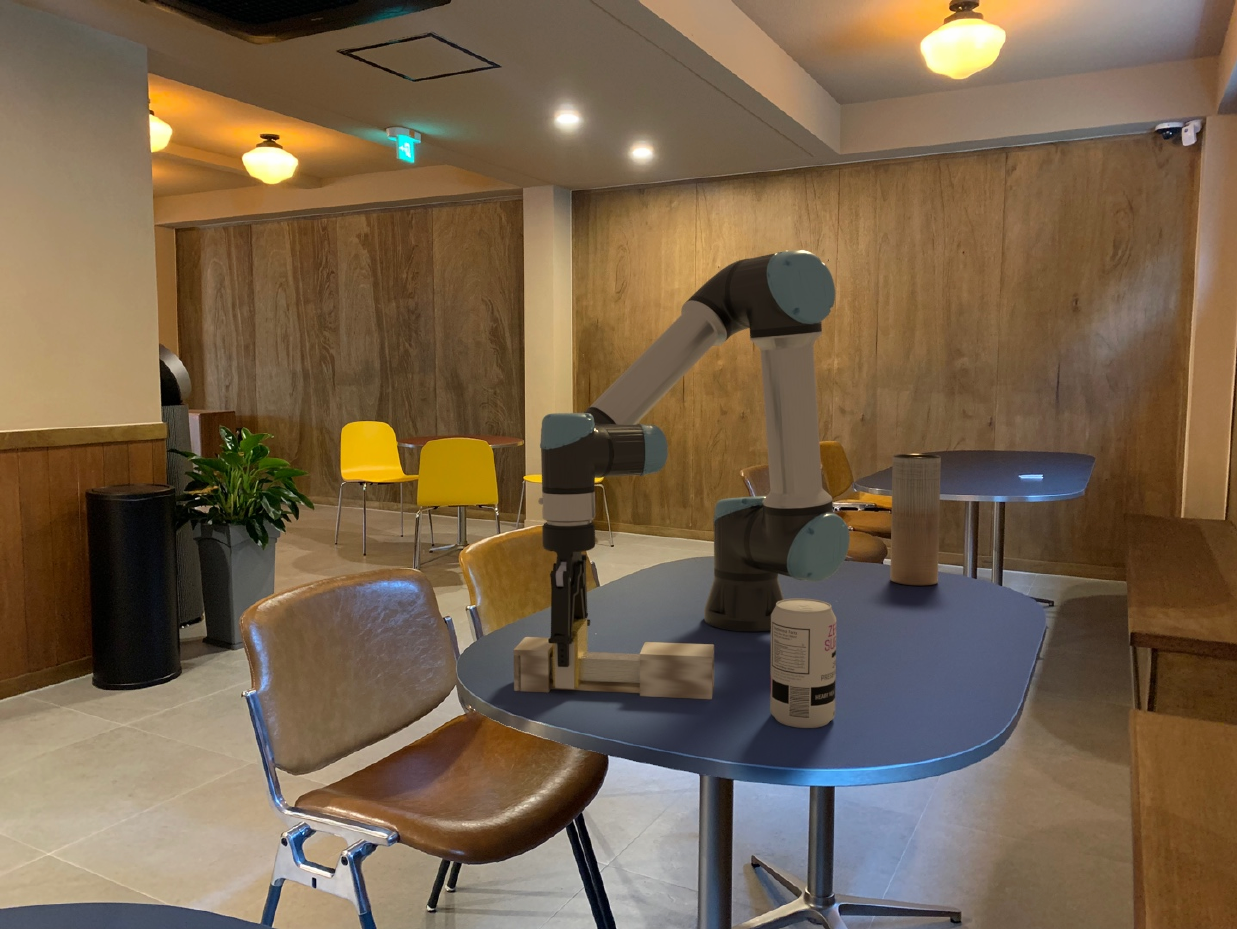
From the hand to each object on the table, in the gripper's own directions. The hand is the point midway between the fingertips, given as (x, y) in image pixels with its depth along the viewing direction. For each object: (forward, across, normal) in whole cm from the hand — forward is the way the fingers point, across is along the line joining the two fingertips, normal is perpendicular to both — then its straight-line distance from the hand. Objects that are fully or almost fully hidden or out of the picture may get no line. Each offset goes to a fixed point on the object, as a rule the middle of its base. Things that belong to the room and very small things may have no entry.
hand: (570, 678), depth 131 cm
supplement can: (+1, +8, +32) cm, 34 cm away
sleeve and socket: (+1, 0, +6) cm, 7 cm away
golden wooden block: (0, 0, +3) cm, 3 cm away
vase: (+1, -78, +60) cm, 99 cm away
